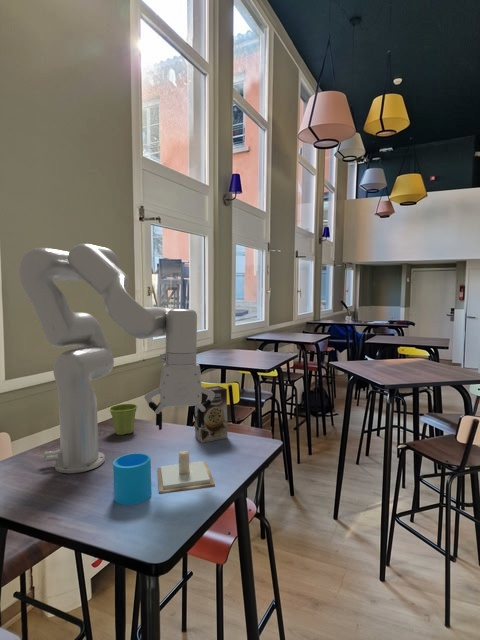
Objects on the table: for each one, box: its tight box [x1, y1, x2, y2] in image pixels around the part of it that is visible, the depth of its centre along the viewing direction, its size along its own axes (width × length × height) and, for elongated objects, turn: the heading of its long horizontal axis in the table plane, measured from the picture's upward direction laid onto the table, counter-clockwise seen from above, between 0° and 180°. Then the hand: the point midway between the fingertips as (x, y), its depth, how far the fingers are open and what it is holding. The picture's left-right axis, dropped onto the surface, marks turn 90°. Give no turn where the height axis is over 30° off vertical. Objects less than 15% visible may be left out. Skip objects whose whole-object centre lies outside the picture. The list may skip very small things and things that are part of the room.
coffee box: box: [194, 385, 228, 443], centre depth 121 cm, size 9×6×16 cm
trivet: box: [157, 461, 216, 494], centre depth 94 cm, size 13×13×1 cm
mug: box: [112, 452, 153, 506], centre depth 87 cm, size 12×8×8 cm
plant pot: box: [108, 403, 138, 436], centre depth 128 cm, size 9×9×9 cm
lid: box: [160, 450, 210, 489], centre depth 93 cm, size 11×11×6 cm
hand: (179, 427), depth 93 cm, fingers open, 9 cm apart
